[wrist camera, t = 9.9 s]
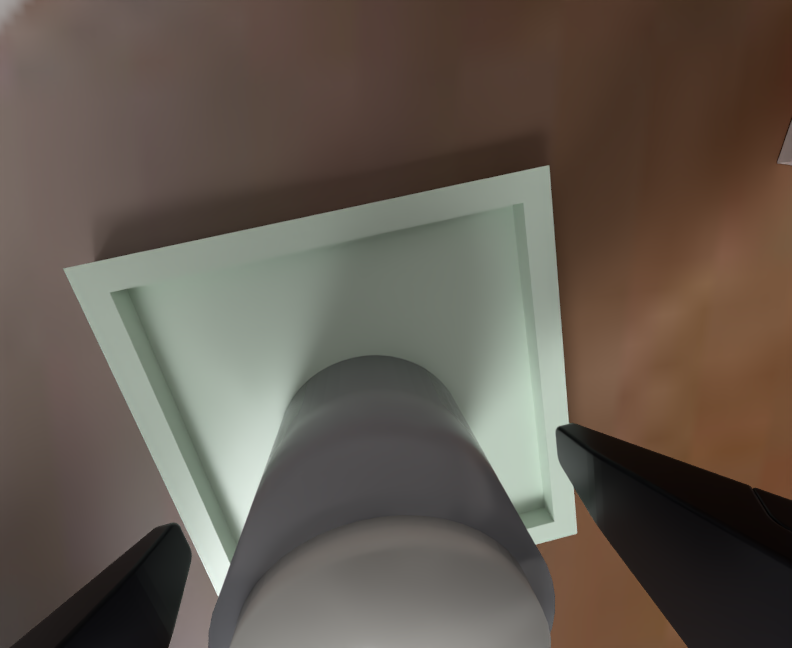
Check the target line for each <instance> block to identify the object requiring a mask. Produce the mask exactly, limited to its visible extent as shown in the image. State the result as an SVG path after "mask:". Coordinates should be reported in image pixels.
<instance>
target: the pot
mask: <svg viewBox="0 0 792 648" xmlns="http://www.w3.org/2000/svg"><path fill="white" fill-rule="evenodd" d="M554 613H555V594H554V588H553V582H552V578H551V575H550V573H549V570H548V567H547V564H546V563H545V561H544V559H543V557H542V556H541V554H540V552H539V550H538V548H537V547H536V545H535V543H534V541H533V539H532V538H531V536H530V534H529V532H528V531H527V529H526V527H525V525H524V523H523V522H522V520H521V518H520V516H519V514H518V513H517V511H516V509H515V507H514V506H513V504H512V502H511V500H510V498H509V497H508V495H507V493H506V491H505V489H504V488H503V486H502V484H501V482H500V481H499V479H498V477H497V475H496V473H495V472H494V470H493V468H492V466H491V464H490V463H489V461H488V459H487V457H486V456H485V454H484V452H483V450H482V448H481V447H480V445H479V443H478V441H477V439H476V438H475V436H474V434H473V432H472V431H471V429H470V427H469V425H468V423H467V422H466V420H465V418H464V416H463V414H462V413H461V411H460V409H459V407H458V406H457V404H456V402H455V400H454V398H453V397H452V395H451V393H450V392H449V390H448V389H447V388H446V386H445V385H444V384H443V383H442V382H441V381H440V380H439V379H438V378H437V377H436V376H435V375H433V374H432V373H431V372H429V371H428V370H426V369H425V368H423V367H421V366H419V365H417V364H415V363H413V362H410V361H407V360H405V359H401V358H396V357H392V356H382V355H367V356H360V357H353V358H350V359H346V360H343V361H340V362H337V363H335V364H333V365H330V366H328V367H327V368H325V369H323V370H321V371H320V372H318V373H317V374H315V375H314V376H313V377H311V378H310V379H309V380H308V381H307V382H306V383H305V384H304V385H303V386H302V387H301V388H300V389H299V390H298V391H297V393H296V394H295V395H294V397H293V398H292V400H291V401H290V403H289V405H288V407H287V409H286V411H285V414H284V417H283V419H282V422H281V425H280V428H279V430H278V433H277V436H276V439H275V441H274V444H273V447H272V450H271V453H270V455H269V458H268V461H267V464H266V466H265V469H264V472H263V475H262V478H261V480H260V483H259V486H258V489H257V491H256V494H255V497H254V500H253V503H252V505H251V508H250V511H249V514H248V516H247V519H246V522H245V525H244V528H243V530H242V533H241V536H240V539H239V541H238V544H237V547H236V550H235V553H234V555H233V558H232V561H231V564H230V566H229V569H228V572H227V575H226V578H225V580H224V583H223V586H222V589H221V591H220V594H219V597H218V600H217V603H216V605H215V608H214V611H213V614H212V619H211V623H210V628H209V646H208V648H551V637H550V632H551V629H552V625H553V619H554Z"/></svg>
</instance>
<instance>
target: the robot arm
mask: <svg viewBox="0 0 792 648" xmlns="http://www.w3.org/2000/svg"><path fill="white" fill-rule="evenodd" d="M555 434H556V445H557V456H558V460H559V463H560V465H561V467H562V468H563V470H564V472H565V473H566V475H567V477H568V478H569V480H570V482H571V483H572V485H573V487H574V488H575V490H576V492H577V493H578V495H579V497H580V498H581V500H582V502H583V503H584V505H585V507H586V508H587V510H588V512H589V513H590V515H591V516H592V518H593V520H594V521H595V523H596V524H597V526H598V527H599V529H600V530H601V531H602V533H603V534H604V536H605V537H606V538H607V540H608V541H609V542H610V544H611V545H612V546H613V548H614V549H615V550H616V552H617V553H618V554H619V556H620V557H621V558H622V560H623V561H624V562H625V564H626V565H627V566H628V568H629V569H630V570H631V572H632V573H633V574H634V576H635V577H636V578H637V580H638V581H639V582H640V584H641V585H642V586H643V588H644V589H645V590H646V592H647V593H648V595H649V596H650V597H651V599H652V600H653V601H654V603H655V604H656V605H657V607H658V608H659V609H660V611H661V612H662V613H663V615H664V616H665V617H666V619H667V620H668V621H669V623H670V624H671V625H672V627H673V628H674V629H675V631H676V632H677V633H678V635H679V636H680V637H681V639H682V640H683V641H684V643H685V644H686V645H687V647H688V648H792V500H789V499H786V498H783V497H781V496H778V495H775V494H772V493H769V492H767V491H764V490H761V489H758V488H753V489H752V488H751V486H749V485H747V484H744V483H741V482H738V481H735V480H733V479H730V478H727V477H724V476H721V475H718V474H716V473H713V472H710V471H707V470H704V469H702V468H699V467H696V466H693V465H690V464H688V463H685V462H682V461H679V460H676V459H673V458H671V457H668V456H665V455H662V454H659V453H657V452H654V451H651V450H648V449H645V448H643V447H640V446H637V445H634V444H631V443H628V442H626V441H623V440H620V439H617V438H614V437H612V436H609V435H606V434H603V433H600V432H598V431H595V430H592V429H589V428H586V427H583V426H581V425H578V424H575V423H569V424H565V425H562V426H558V427H557V428H556V431H555ZM191 558H192V553H191V549H190V546H189V544H188V542H187V540H186V538H185V536H184V534H183V532H182V530H181V528H180V526H179V525H178V524H177V523H170V524H166V525H162V526H158V527H156V528H154V529H153V530H152V531H151V532H149V533H148V534H147V535H146V536H145V537H143V538H142V539H141V540H140V541H139V542H137V543H136V544H135V545H134V546H133V547H131V548H130V549H129V550H128V551H126V552H125V553H124V554H123V555H122V556H120V557H119V558H118V559H117V560H116V561H114V562H113V563H112V564H111V565H109V566H108V567H107V568H106V569H105V570H103V571H102V572H101V573H100V574H99V575H97V576H96V577H95V578H94V579H93V580H91V581H90V582H89V583H88V584H86V585H85V586H84V587H83V588H82V589H80V590H79V591H78V592H77V593H76V594H74V595H73V596H72V597H71V598H69V599H68V600H67V601H66V602H65V603H63V604H62V605H61V606H60V607H59V608H57V609H56V610H55V611H54V612H53V613H51V614H50V615H49V616H48V617H46V618H45V619H44V620H43V621H42V622H40V623H39V624H38V625H37V626H36V627H34V628H33V629H32V630H31V631H29V632H28V633H27V634H26V635H25V636H23V637H22V638H21V639H20V640H19V641H17V642H16V643H15V644H14V645H13V646H11V647H10V648H168V647H169V644H170V641H171V637H172V634H173V630H174V627H175V623H176V619H177V615H178V611H179V607H180V603H181V599H182V595H183V591H184V588H185V584H186V580H187V576H188V572H189V568H190V564H191Z"/></svg>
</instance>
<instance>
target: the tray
mask: <svg viewBox="0 0 792 648" xmlns="http://www.w3.org/2000/svg"><path fill="white" fill-rule="evenodd" d="M64 271H65V274H66V276H67V278H68V280H69V282H70V284H71V286H72V288H73V291H74V293H75V295H76V297H77V299H78V301H79V303H80V305H81V307H82V310H83V312H84V314H85V316H86V318H87V320H88V322H89V324H90V326H91V329H92V331H93V333H94V335H95V337H96V339H97V341H98V343H99V345H100V348H101V350H102V352H103V354H104V356H105V358H106V360H107V362H108V365H109V367H110V369H111V371H112V373H113V375H114V377H115V379H116V381H117V384H118V386H119V388H120V390H121V392H122V394H123V396H124V398H125V400H126V403H127V405H128V407H129V409H130V411H131V413H132V415H133V417H134V419H135V422H136V424H137V426H138V428H139V430H140V432H141V434H142V436H143V438H144V441H145V443H146V445H147V447H148V449H149V451H150V453H151V455H152V458H153V460H154V462H155V464H156V466H157V468H158V470H159V472H160V474H161V477H162V479H163V481H164V483H165V485H166V487H167V489H168V491H169V493H170V496H171V498H172V500H173V502H174V504H175V506H176V508H177V510H178V512H179V515H180V517H181V519H182V521H183V523H184V525H185V527H186V529H187V532H188V534H189V536H190V538H191V540H192V542H193V544H194V546H195V548H196V551H197V553H198V555H199V557H200V559H201V561H202V563H203V565H204V567H205V570H206V572H207V574H208V576H209V578H210V580H211V582H212V584H213V586H214V589H215V591H216V593H217V595H218V597H219V594H220V591H221V589H222V586H223V583H224V580H225V578H226V575H227V572H228V569H229V566H230V564H231V561H232V558H233V555H234V553H235V550H236V547H237V544H238V541H239V539H240V536H241V533H242V530H243V528H244V525H245V522H246V519H247V516H248V514H249V511H250V508H251V505H252V503H253V500H254V497H255V494H256V491H257V489H258V486H259V483H260V480H261V478H262V475H263V472H264V469H265V466H266V464H267V461H268V458H269V455H270V453H271V450H272V447H273V444H274V441H275V439H276V436H277V433H278V430H279V428H280V425H281V422H282V419H283V417H284V414H285V411H286V409H287V407H288V405H289V403H290V401H291V400H292V398H293V397H294V395H295V394H296V393H297V391H298V390H299V389H300V388H301V387H302V386H303V385H304V384H305V383H306V382H307V381H308V380H309V379H310V378H311V377H313V376H314V375H315V374H317V373H318V372H320V371H321V370H323V369H325V368H327V367H328V366H330V365H333V364H335V363H337V362H340V361H343V360H346V359H350V358H353V357H360V356H367V355H382V356H392V357H396V358H401V359H405V360H407V361H410V362H413V363H415V364H417V365H419V366H421V367H423V368H425V369H426V370H428V371H429V372H431V373H432V374H433V375H435V376H436V377H437V378H438V379H439V380H440V381H441V382H442V383H443V384H444V385H445V386H446V388H447V389H448V390H449V392H450V393H451V395H452V397H453V398H454V400H455V402H456V404H457V406H458V407H459V409H460V411H461V413H462V414H463V416H464V418H465V420H466V422H467V423H468V425H469V427H470V429H471V431H472V432H473V434H474V436H475V438H476V439H477V441H478V443H479V445H480V447H481V448H482V450H483V452H484V454H485V456H486V457H487V459H488V461H489V463H490V464H491V466H492V468H493V470H494V472H495V473H496V475H497V477H498V479H499V481H500V482H501V484H502V486H503V488H504V489H505V491H506V493H507V495H508V497H509V498H510V500H511V502H512V504H513V506H514V507H515V509H516V511H517V513H518V514H519V516H520V518H521V520H522V522H523V523H524V525H525V527H526V529H527V531H528V532H529V534H530V536H531V538H532V539H533V541H534V543H535V545H536V544H539V543H543V542H547V541H551V540H554V539H558V538H562V537H566V536H570V535H573V534H577V525H576V512H575V498H574V487H573V485H572V483H571V482H570V480H569V478H568V477H567V475H566V473H565V472H564V470H563V468H562V467H561V465H560V463H559V460H558V456H557V445H556V434H555V431H556V428H557V427H558V426H562V425H565V424H569V419H568V406H567V393H566V380H565V366H564V353H563V340H562V327H561V313H560V300H559V287H558V274H557V261H556V247H555V234H554V221H553V208H552V195H551V181H550V168H549V165H547V166H542V167H538V168H533V169H528V170H524V171H519V172H514V173H510V174H505V175H500V176H496V177H491V178H486V179H481V180H477V181H472V182H467V183H463V184H458V185H453V186H449V187H444V188H439V189H434V190H430V191H425V192H420V193H416V194H411V195H406V196H402V197H397V198H392V199H388V200H383V201H378V202H373V203H369V204H364V205H359V206H355V207H350V208H345V209H341V210H336V211H331V212H326V213H322V214H317V215H312V216H308V217H303V218H298V219H294V220H289V221H284V222H280V223H275V224H270V225H265V226H261V227H256V228H251V229H247V230H242V231H237V232H233V233H228V234H223V235H218V236H214V237H209V238H204V239H200V240H195V241H190V242H186V243H181V244H176V245H172V246H167V247H162V248H157V249H153V250H148V251H143V252H139V253H134V254H129V255H125V256H120V257H115V258H110V259H106V260H101V261H96V262H92V263H87V264H82V265H78V266H73V267H68V268H64Z"/></svg>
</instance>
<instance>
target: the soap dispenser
mask: <svg viewBox="0 0 792 648" xmlns="http://www.w3.org/2000/svg"><path fill="white" fill-rule="evenodd" d="M777 163H780V164H787V165H792V121H791V124H790V127H789V130H788V133H787V136H786V138H785V141H784V144H783V147H782V150H781V153H780V156H779V159H778V162H777Z"/></svg>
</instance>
